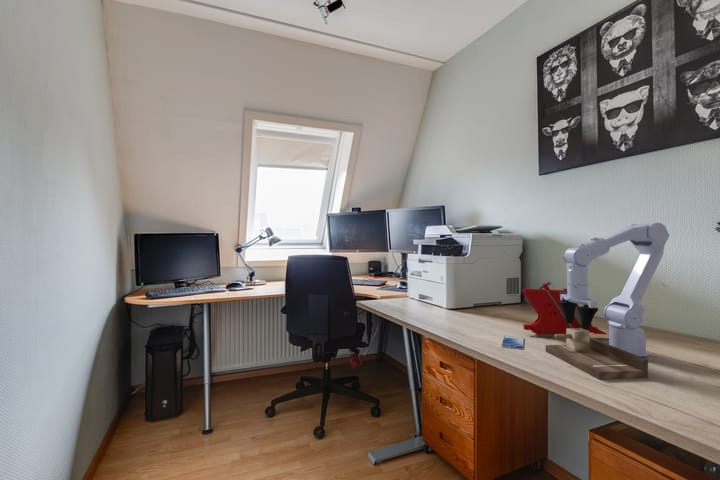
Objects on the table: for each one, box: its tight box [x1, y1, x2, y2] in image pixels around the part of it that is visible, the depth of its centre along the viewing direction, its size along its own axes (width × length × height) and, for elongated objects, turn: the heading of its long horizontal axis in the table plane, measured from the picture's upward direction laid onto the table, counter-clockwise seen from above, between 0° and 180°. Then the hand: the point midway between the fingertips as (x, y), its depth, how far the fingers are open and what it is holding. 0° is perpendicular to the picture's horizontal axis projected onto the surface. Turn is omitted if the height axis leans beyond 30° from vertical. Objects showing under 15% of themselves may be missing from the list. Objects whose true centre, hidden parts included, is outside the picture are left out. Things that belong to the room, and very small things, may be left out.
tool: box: [522, 281, 608, 339], centre depth 137 cm, size 27×6×27 cm, turn 86°
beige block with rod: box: [554, 328, 591, 350], centre depth 114 cm, size 10×4×6 cm, turn 94°
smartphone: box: [500, 335, 526, 351], centre depth 128 cm, size 7×1×15 cm
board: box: [545, 337, 649, 380], centre depth 107 cm, size 14×24×5 cm, turn 4°
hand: (577, 325), depth 115 cm, fingers open, 7 cm apart
